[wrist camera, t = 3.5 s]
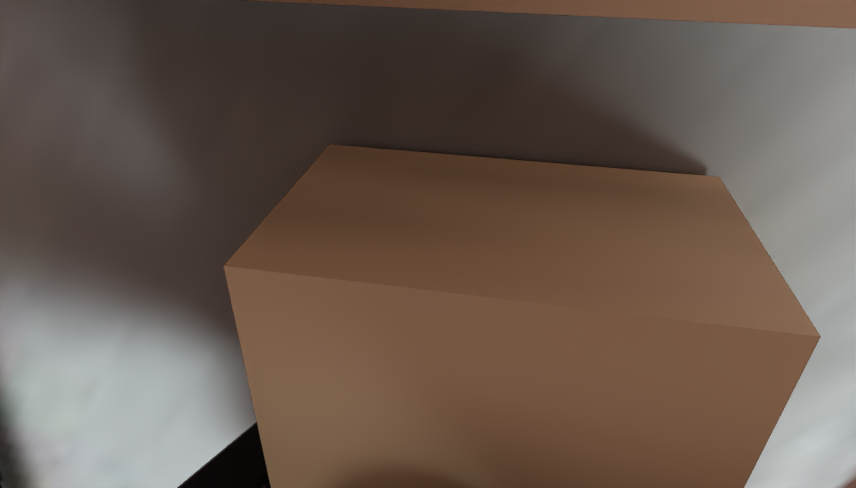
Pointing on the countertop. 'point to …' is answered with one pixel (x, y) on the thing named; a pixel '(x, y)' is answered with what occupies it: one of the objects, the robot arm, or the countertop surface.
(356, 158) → the oak lid
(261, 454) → the robot arm
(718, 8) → the walnut box
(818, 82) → the countertop surface
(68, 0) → the countertop surface
